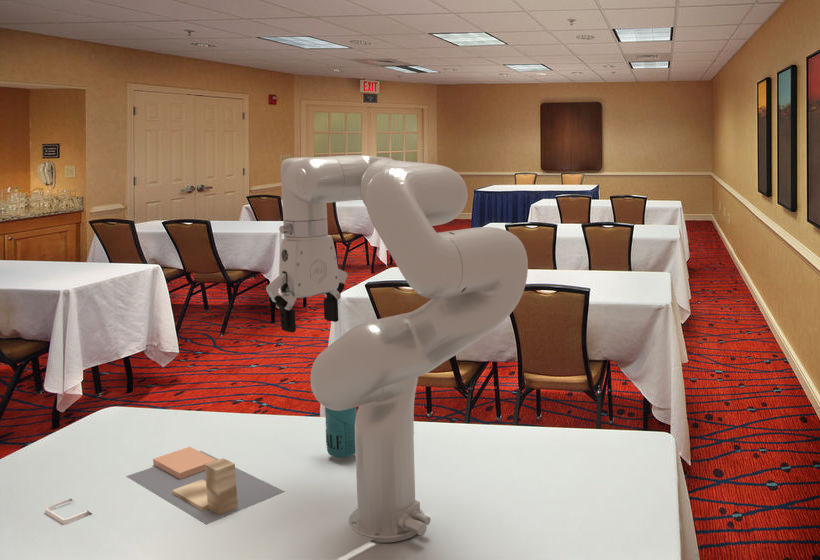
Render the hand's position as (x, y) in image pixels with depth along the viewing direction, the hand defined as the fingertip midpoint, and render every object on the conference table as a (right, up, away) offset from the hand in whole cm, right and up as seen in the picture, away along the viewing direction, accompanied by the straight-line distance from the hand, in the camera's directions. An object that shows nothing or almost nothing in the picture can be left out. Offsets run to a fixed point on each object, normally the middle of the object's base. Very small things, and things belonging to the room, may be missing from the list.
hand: (310, 325), depth 140 cm
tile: (-22, -28, +10) cm, 37 cm away
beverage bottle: (+4, -28, +18) cm, 33 cm away
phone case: (-38, -32, +1) cm, 50 cm away
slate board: (-20, -30, +5) cm, 37 cm away
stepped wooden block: (-18, -30, -1) cm, 35 cm away
